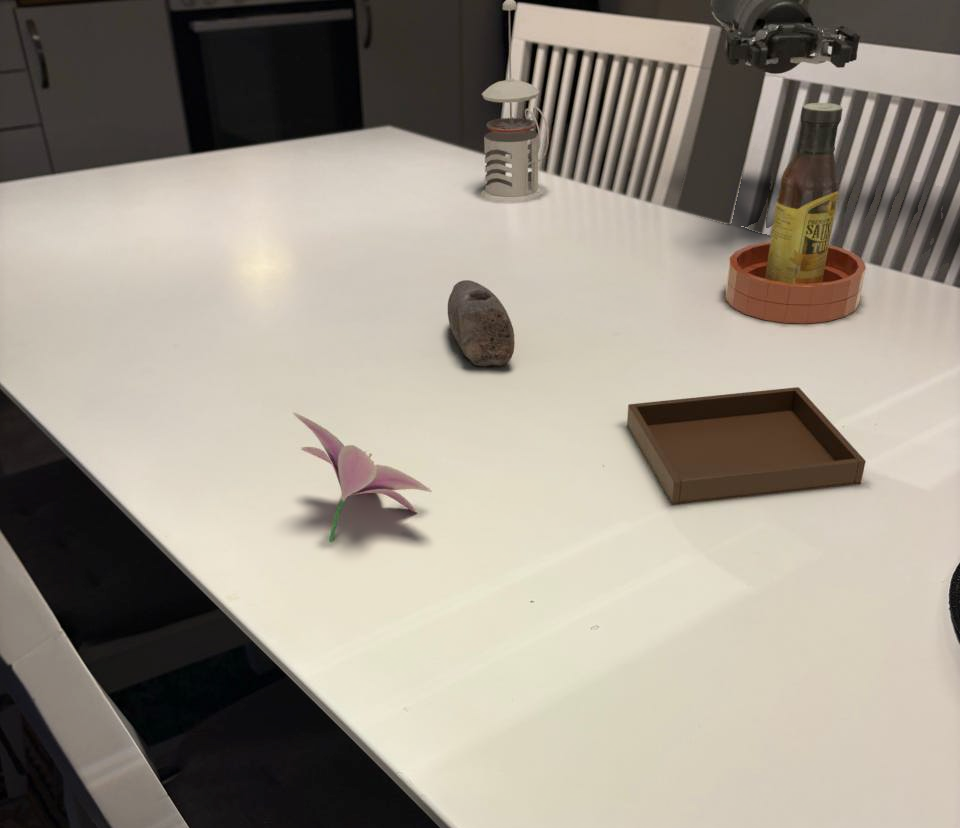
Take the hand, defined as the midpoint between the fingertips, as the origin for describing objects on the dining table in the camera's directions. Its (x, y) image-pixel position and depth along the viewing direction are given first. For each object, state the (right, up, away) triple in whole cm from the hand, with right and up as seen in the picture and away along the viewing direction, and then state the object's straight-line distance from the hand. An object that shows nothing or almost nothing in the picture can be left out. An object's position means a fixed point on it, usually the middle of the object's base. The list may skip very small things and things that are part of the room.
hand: (803, 58), depth 112 cm
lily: (-44, -53, -27) cm, 74 cm away
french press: (-30, +3, +42) cm, 52 cm away
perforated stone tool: (-35, -32, -1) cm, 48 cm away
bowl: (+1, -24, +6) cm, 25 cm away
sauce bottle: (+1, -24, +6) cm, 25 cm away
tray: (-12, -47, -21) cm, 53 cm away
